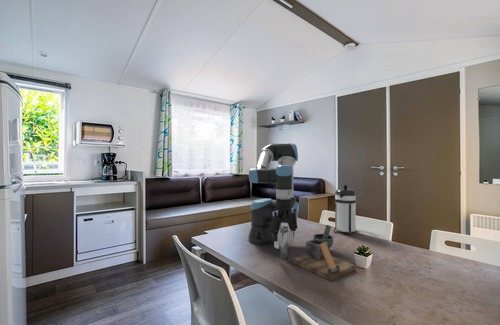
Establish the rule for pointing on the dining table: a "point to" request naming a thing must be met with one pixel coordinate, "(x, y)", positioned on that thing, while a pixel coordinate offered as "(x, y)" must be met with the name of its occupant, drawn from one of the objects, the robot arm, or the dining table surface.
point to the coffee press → (345, 210)
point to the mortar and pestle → (325, 236)
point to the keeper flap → (328, 257)
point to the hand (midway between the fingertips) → (283, 245)
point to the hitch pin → (284, 242)
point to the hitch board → (321, 262)
